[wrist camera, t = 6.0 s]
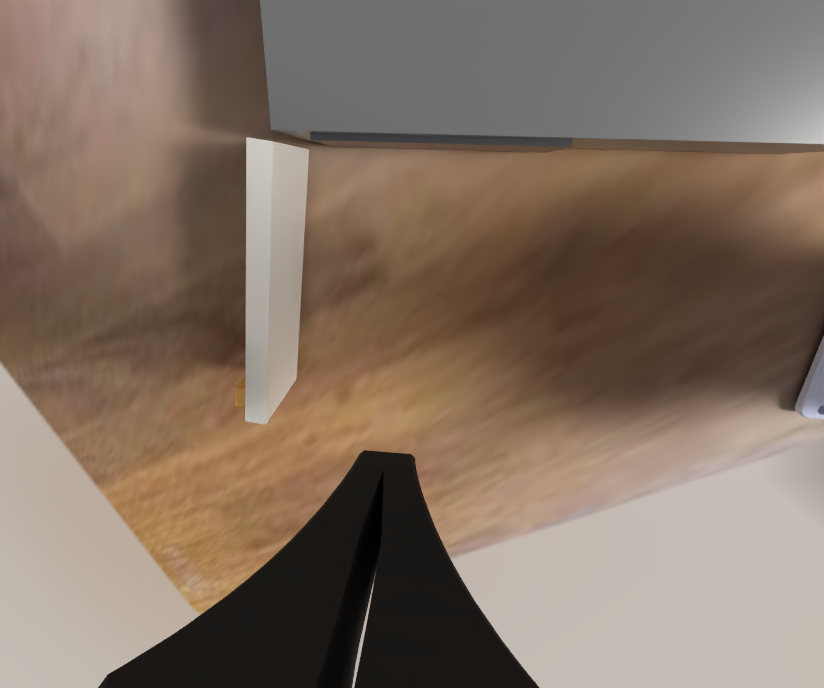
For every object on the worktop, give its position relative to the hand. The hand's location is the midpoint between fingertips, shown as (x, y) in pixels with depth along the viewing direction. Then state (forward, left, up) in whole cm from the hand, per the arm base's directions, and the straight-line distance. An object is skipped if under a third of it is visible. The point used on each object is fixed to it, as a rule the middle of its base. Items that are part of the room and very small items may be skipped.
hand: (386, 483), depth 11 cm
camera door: (+5, -3, -9) cm, 11 cm away
